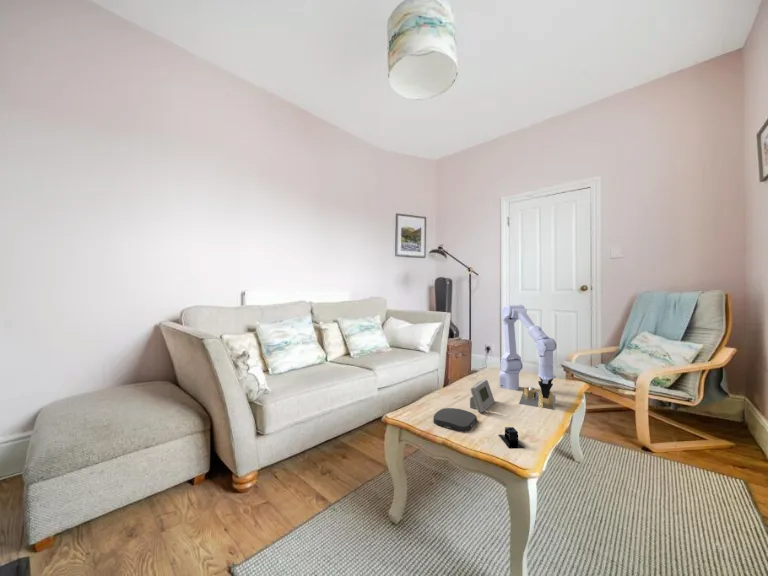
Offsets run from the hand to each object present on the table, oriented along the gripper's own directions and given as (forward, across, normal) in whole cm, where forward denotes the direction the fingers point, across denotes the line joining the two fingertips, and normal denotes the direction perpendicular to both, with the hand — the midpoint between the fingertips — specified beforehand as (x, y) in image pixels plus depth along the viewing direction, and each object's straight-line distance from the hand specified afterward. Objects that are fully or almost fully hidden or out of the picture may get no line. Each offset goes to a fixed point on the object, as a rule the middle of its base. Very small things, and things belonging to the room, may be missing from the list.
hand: (545, 395), depth 137 cm
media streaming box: (+5, -37, +30) cm, 48 cm away
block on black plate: (+5, -43, +9) cm, 44 cm away
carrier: (+4, +3, +3) cm, 7 cm away
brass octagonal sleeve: (+4, 0, 0) cm, 4 cm away
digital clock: (+5, -16, +24) cm, 30 cm away
